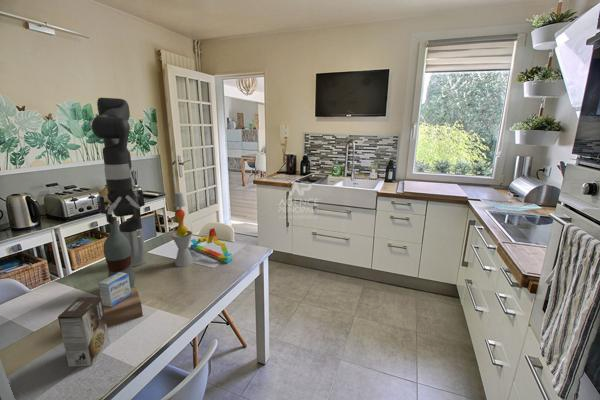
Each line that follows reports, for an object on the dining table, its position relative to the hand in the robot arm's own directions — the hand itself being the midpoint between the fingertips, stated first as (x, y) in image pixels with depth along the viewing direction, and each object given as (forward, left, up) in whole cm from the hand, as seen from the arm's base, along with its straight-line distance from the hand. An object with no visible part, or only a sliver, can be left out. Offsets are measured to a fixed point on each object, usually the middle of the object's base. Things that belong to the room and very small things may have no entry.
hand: (124, 220), depth 103 cm
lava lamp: (-12, +28, -31) cm, 44 cm away
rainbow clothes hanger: (-10, +41, -32) cm, 53 cm away
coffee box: (+20, -21, -31) cm, 43 cm away
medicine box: (+7, -8, -26) cm, 28 cm away
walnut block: (+7, -8, -32) cm, 33 cm away
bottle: (-11, 0, -31) cm, 33 cm away
